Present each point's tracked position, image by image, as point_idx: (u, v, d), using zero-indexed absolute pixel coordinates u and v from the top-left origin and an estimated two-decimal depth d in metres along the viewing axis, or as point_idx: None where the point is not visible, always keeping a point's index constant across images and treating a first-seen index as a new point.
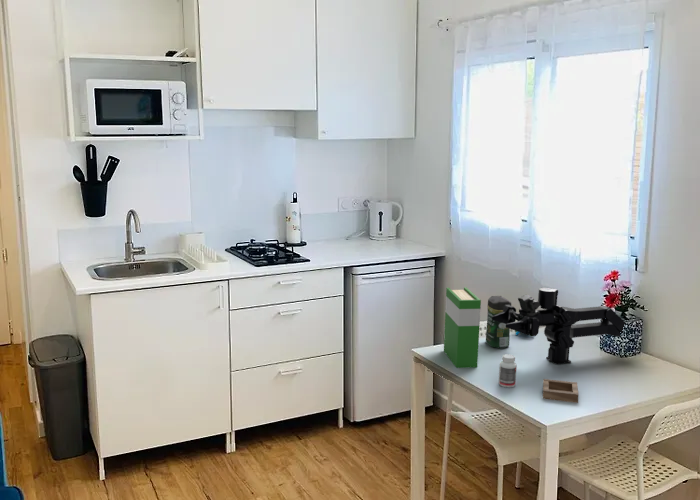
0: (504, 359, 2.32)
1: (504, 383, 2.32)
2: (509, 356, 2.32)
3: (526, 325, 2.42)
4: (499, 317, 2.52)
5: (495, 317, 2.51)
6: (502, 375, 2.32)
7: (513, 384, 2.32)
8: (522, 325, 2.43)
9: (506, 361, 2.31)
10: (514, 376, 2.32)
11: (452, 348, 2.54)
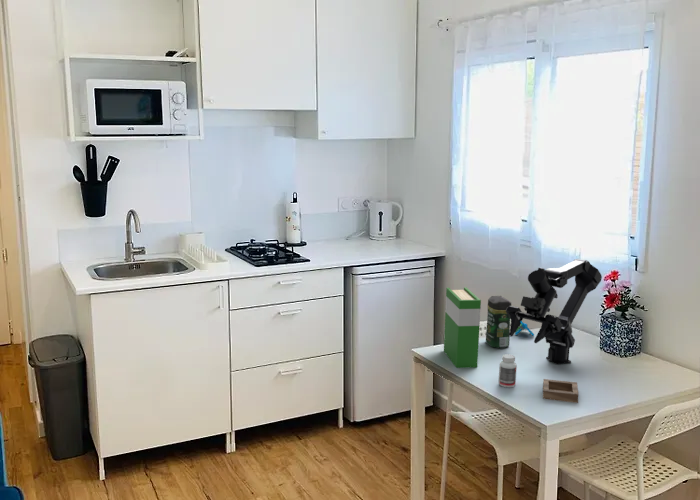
0: (504, 359, 2.32)
1: (504, 383, 2.32)
2: (509, 356, 2.32)
3: (549, 327, 2.35)
4: (514, 328, 2.42)
5: (512, 332, 2.41)
6: (502, 375, 2.32)
7: (513, 384, 2.32)
8: (545, 329, 2.36)
9: (506, 361, 2.31)
10: (514, 376, 2.32)
11: (452, 348, 2.54)
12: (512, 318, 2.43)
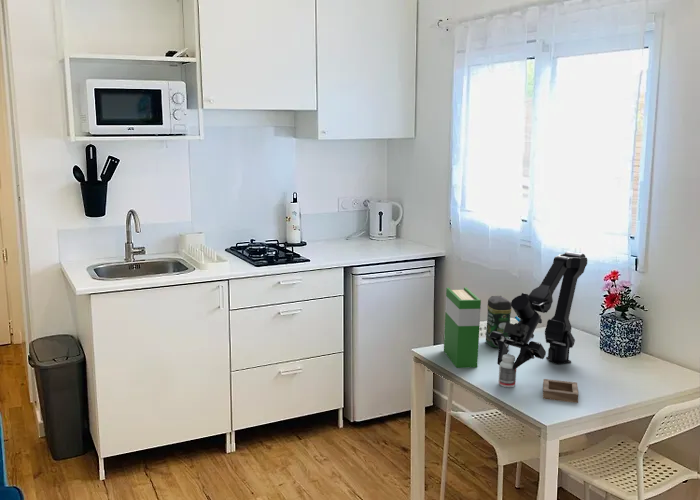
0: (504, 359, 2.32)
1: (504, 383, 2.32)
2: (509, 356, 2.32)
3: (528, 353, 2.31)
4: None
5: (500, 360, 2.35)
6: (502, 375, 2.32)
7: (513, 384, 2.32)
8: (524, 354, 2.32)
9: (506, 361, 2.31)
10: (514, 376, 2.32)
11: (452, 348, 2.54)
12: (500, 345, 2.36)
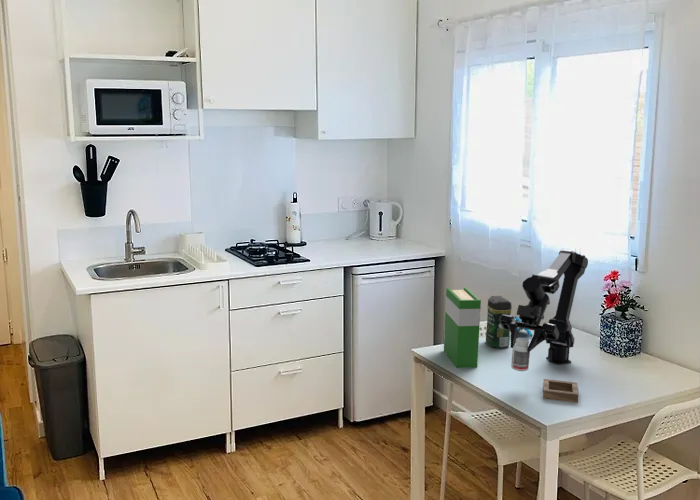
0: (518, 343, 2.28)
1: (518, 367, 2.28)
2: (523, 339, 2.29)
3: (541, 335, 2.28)
4: (514, 339, 2.32)
5: (513, 343, 2.31)
6: (516, 359, 2.28)
7: (527, 368, 2.29)
8: (537, 336, 2.29)
9: (520, 345, 2.28)
10: (528, 359, 2.29)
11: (452, 348, 2.54)
12: (512, 329, 2.32)
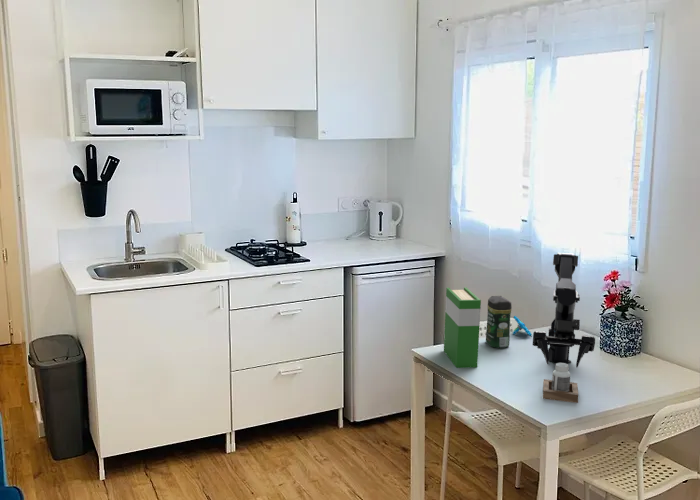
0: (561, 368, 2.24)
1: None
2: (563, 364, 2.26)
3: (585, 348, 2.26)
4: None
5: (548, 360, 2.26)
6: (560, 385, 2.24)
7: None
8: None
9: (563, 370, 2.24)
10: None
11: (452, 348, 2.54)
12: (544, 344, 2.27)
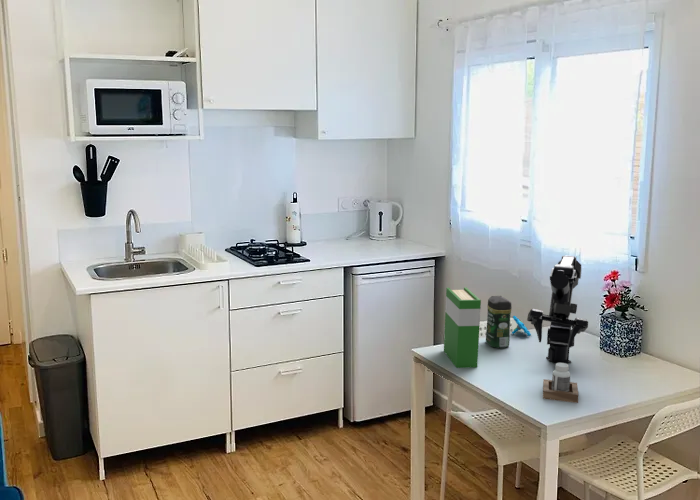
0: (561, 368, 2.24)
1: None
2: (563, 364, 2.26)
3: (578, 330, 2.36)
4: None
5: None
6: (560, 385, 2.24)
7: None
8: None
9: (563, 370, 2.24)
10: None
11: (452, 348, 2.54)
12: (539, 323, 2.36)
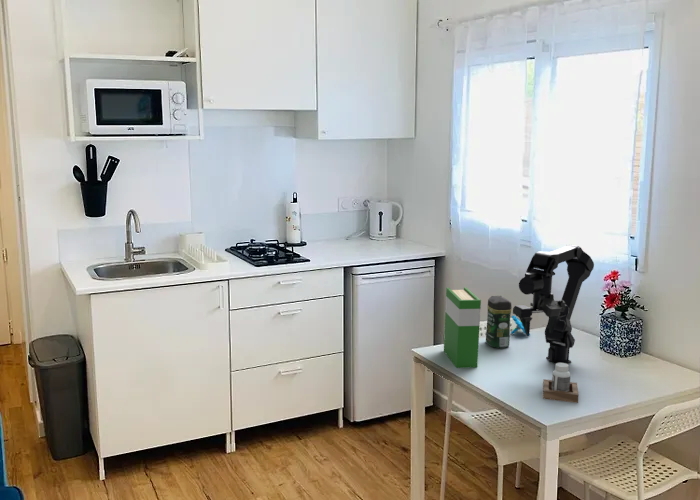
0: (561, 368, 2.24)
1: None
2: (563, 364, 2.26)
3: None
4: None
5: None
6: (560, 385, 2.24)
7: None
8: None
9: (563, 370, 2.24)
10: None
11: (452, 348, 2.54)
12: (528, 321, 2.41)
